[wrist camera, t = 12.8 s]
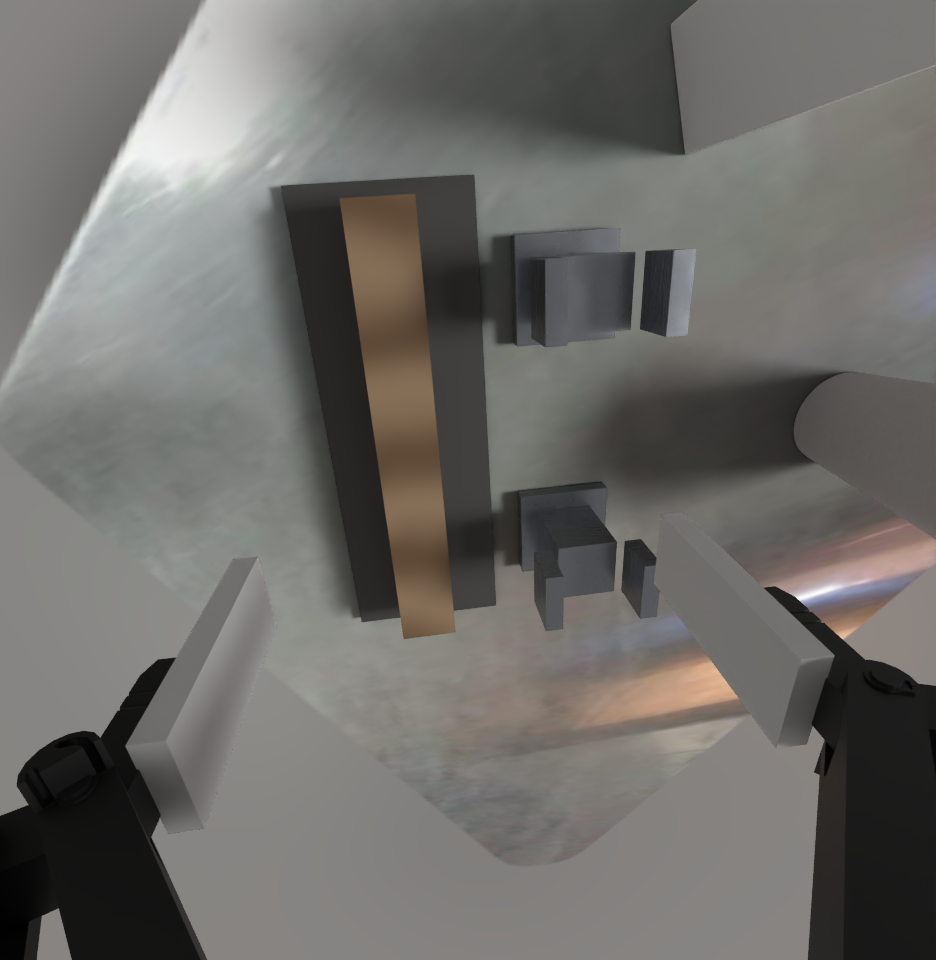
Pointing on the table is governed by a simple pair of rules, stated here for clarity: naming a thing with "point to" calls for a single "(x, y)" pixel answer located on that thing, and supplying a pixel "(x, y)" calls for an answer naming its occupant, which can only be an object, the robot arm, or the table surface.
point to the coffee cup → (876, 440)
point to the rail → (401, 402)
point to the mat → (453, 367)
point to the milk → (789, 58)
